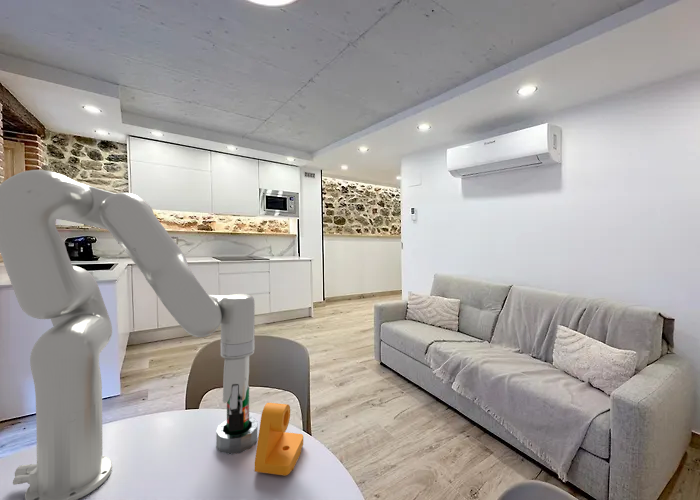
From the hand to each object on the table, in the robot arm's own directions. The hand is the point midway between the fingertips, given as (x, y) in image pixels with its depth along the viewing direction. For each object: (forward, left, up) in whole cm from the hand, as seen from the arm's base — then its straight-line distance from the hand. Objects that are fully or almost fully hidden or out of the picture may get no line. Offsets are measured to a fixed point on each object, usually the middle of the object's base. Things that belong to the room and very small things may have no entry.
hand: (237, 421), depth 74 cm
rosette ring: (0, 0, -5) cm, 5 cm away
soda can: (0, 0, -3) cm, 3 cm away
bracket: (+10, -9, -5) cm, 14 cm away
